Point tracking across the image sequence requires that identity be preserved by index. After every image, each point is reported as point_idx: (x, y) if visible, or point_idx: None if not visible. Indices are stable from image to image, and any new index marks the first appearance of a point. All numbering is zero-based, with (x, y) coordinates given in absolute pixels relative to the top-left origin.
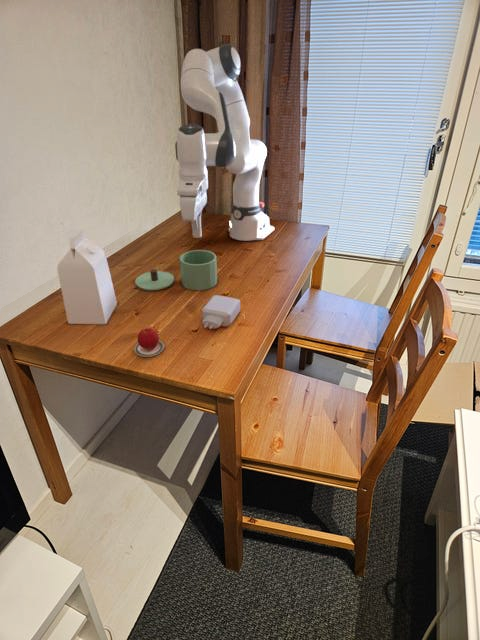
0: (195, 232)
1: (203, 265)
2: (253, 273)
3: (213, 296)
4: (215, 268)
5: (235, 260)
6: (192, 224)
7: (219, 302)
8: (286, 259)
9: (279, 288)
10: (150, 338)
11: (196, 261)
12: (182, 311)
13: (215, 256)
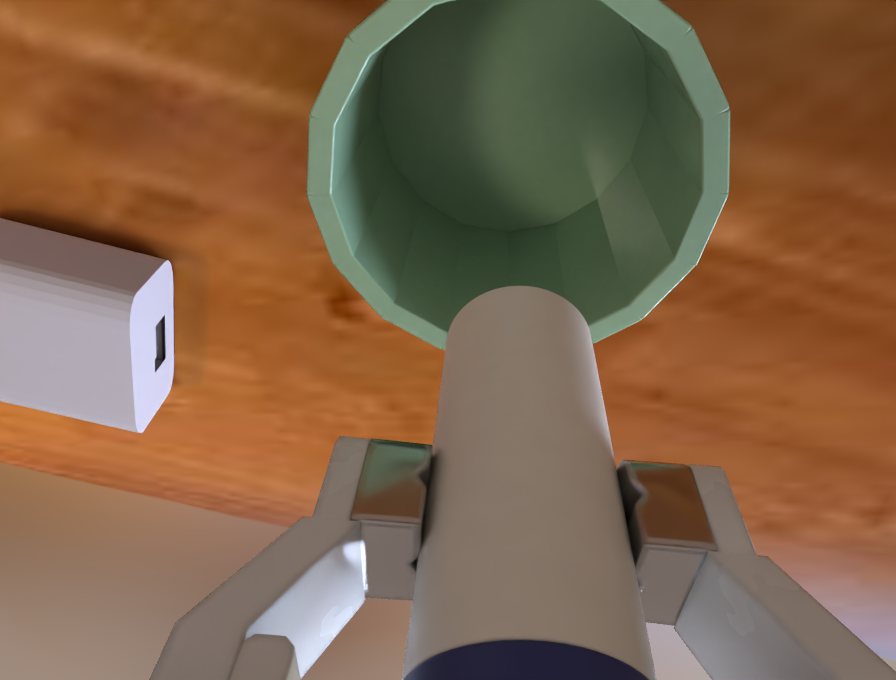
0: (440, 392)
1: (340, 266)
2: (640, 434)
3: (113, 305)
4: None
5: (881, 332)
6: (318, 508)
7: (48, 347)
8: (811, 572)
9: None
10: None
11: (670, 101)
12: (40, 56)
13: None
